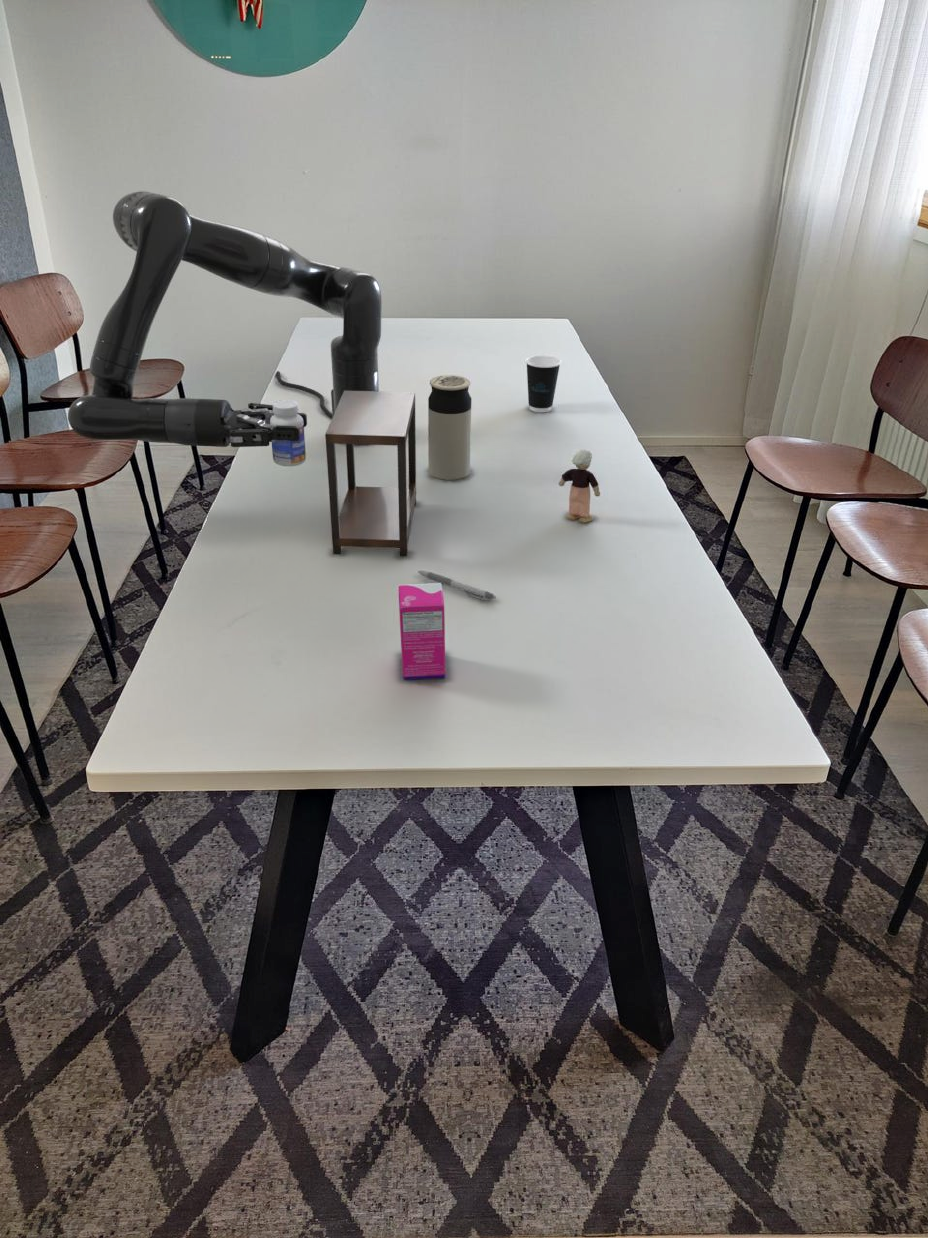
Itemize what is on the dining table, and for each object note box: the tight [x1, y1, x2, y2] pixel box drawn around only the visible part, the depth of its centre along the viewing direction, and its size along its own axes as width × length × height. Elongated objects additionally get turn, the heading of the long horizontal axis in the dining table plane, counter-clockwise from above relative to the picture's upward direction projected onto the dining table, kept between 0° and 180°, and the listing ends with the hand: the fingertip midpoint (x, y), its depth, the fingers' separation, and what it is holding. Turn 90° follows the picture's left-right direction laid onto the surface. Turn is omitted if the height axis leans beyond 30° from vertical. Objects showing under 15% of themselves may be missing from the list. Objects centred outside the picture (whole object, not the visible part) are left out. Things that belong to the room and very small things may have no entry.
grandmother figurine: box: [558, 448, 601, 524], centre depth 157 cm, size 8×4×13 cm, turn 71°
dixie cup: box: [524, 355, 562, 413], centre depth 204 cm, size 8×8×11 cm
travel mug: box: [427, 374, 472, 481], centre depth 171 cm, size 8×8×18 cm
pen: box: [417, 570, 497, 601], centre depth 139 cm, size 1×14×1 cm, turn 58°
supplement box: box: [398, 582, 447, 681], centre depth 119 cm, size 6×6×12 cm
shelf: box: [324, 390, 417, 558], centre depth 150 cm, size 12×20×20 cm, turn 178°
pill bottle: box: [270, 399, 307, 467], centre depth 148 cm, size 5×5×10 cm
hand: (302, 426), depth 148 cm, fingers closed on pill bottle, 5 cm apart
